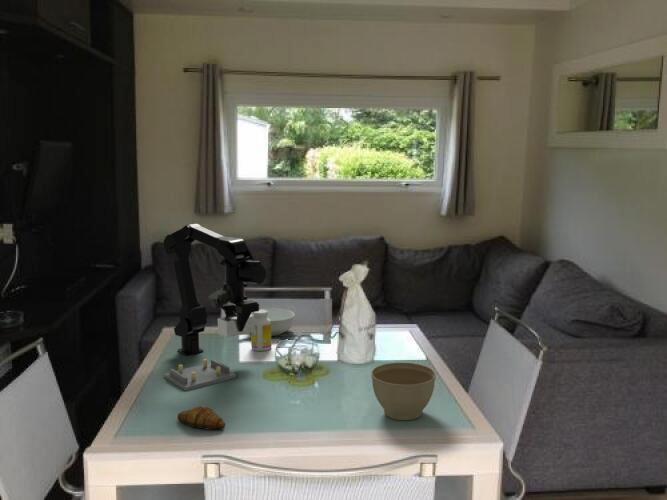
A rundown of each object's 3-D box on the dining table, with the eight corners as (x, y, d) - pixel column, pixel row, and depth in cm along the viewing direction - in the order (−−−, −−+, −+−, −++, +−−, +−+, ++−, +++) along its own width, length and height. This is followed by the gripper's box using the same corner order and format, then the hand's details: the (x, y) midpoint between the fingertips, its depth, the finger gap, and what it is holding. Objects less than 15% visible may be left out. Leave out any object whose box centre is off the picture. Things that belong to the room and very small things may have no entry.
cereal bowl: (242, 338, 231) (241, 318, 230) (255, 325, 247) (254, 307, 246) (288, 340, 228) (288, 321, 227) (299, 327, 244) (299, 309, 243)
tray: (164, 376, 192) (163, 365, 192) (212, 365, 202) (212, 354, 202) (185, 390, 182) (185, 378, 181) (235, 377, 192) (235, 366, 191)
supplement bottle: (273, 345, 222) (272, 309, 220) (269, 351, 216) (268, 314, 214) (253, 345, 223) (252, 308, 221) (249, 351, 216) (248, 313, 214)
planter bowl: (370, 401, 174) (370, 361, 173) (430, 401, 174) (431, 362, 172) (371, 426, 158) (372, 383, 157) (438, 427, 158) (439, 384, 156)
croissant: (232, 425, 160) (231, 405, 159) (216, 436, 154) (215, 416, 153) (187, 415, 165) (186, 396, 165) (170, 425, 159) (169, 406, 159)
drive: (218, 334, 201) (217, 318, 200) (245, 328, 208) (244, 312, 207) (226, 337, 198) (226, 321, 197) (254, 331, 204) (253, 315, 203)
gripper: (196, 278, 202) (198, 327, 205) (227, 289, 188) (228, 341, 190) (228, 274, 209) (229, 321, 212) (259, 283, 195) (260, 334, 197)
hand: (236, 329), depth 203 cm, fingers closed on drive, 5 cm apart
